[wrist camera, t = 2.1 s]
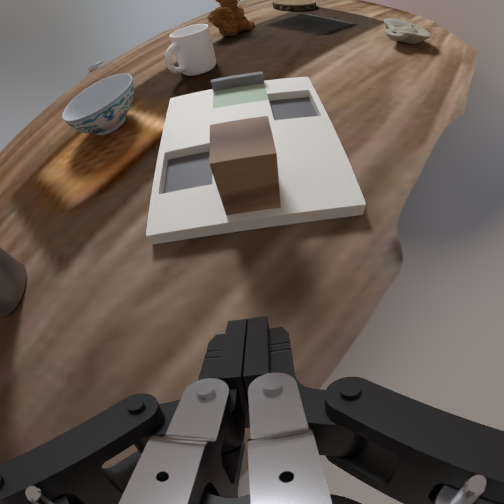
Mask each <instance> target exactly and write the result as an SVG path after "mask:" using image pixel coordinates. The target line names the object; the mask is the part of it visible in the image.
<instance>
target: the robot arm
mask: <svg viewBox="0 0 504 504" xmlns="http://www.w3.org/2000/svg"><path fill="white" fill-rule="evenodd" d="M25 285H26V271H25V268H24V266H23V265H22V264H21V263H19V262H18V261H17V260H16V259H14V258H13V257H12V256H10V255H9V254H8V253H7V252H5V251H4V250H3V249H2V248H0V315H1V316H7V315H9V314H11V313H12V312H13V311H14V310H15V309H16V307H17V306H18V304H19V302H20V300H21V298H22V296H23V293H24V290H25ZM245 428H250V434H251V439H248V462H249V480H250V495H246V496H242V497H238V486H239V480H240V474H241V468H242V463H243V457H244V451H245V441H244V434H245ZM133 444H134V445H135V446H136V448H137V449H138V451H136V452H135V453H133V454H132V455H130V456H129V457H127V458H125V459H124V460H122V461H121V462H119V463H117V464H116V465H114V466H112V467H111V468H107V469H104V468H101V467H102V465H103V464H104V463H105V462H106V461H108V460H109V459H111V458H113V457H114V456H116V455H117V454H119V453H121V452H122V451H124V450H125V449H127V448H129V447H130V446H132V445H133ZM319 455H326V457H327V459H328V460H329V461H330V462H331V463H333V464H335V465H336V466H338V467H339V468H341V469H343V470H344V471H346V472H347V473H349V474H351V475H352V476H354V477H356V478H357V479H359V480H361V481H363V482H365V483H366V484H368V485H370V486H372V487H373V488H375V489H377V490H379V491H380V492H382V493H384V494H386V495H388V496H390V497H392V498H394V499H396V500H397V501H399V502H401V503H404V504H504V431H501V430H498V429H495V428H492V427H488V426H485V425H482V424H479V423H476V422H473V421H470V420H467V419H465V418H462V417H459V416H456V415H453V414H450V413H448V412H445V411H442V410H439V409H437V408H434V407H432V406H429V405H426V404H424V403H421V402H419V401H416V400H414V399H411V398H409V397H406V396H403V395H401V394H399V393H396V392H394V391H392V390H389V389H387V388H384V387H382V386H380V385H377V384H375V383H373V382H370V381H368V380H366V379H363V378H359V377H346V378H341V379H338V380H336V381H334V382H333V383H332V384H330V385H329V386H328V387H327V389H326V390H319V389H312V388H308V387H305V386H303V385H302V384H300V383H299V382H298V381H297V379H296V377H295V372H294V365H293V359H292V352H291V345H290V339H289V333H288V332H287V331H286V330H285V329H284V328H283V327H279V328H271V329H269V324H268V318H267V316H266V317H259V318H251V319H248V320H247V319H243V320H234V321H228V324H227V329H226V333H225V334H219V335H216V336H215V337H214V338H213V339H212V340H211V341H210V342H209V344H208V347H207V352H206V354H205V359H204V361H203V365H202V368H201V372H200V375H199V379H198V381H196V382H194V383H192V384H191V385H189V386H188V387H187V388H186V389H185V391H184V393H183V395H182V398H181V399H180V400H176V401H173V402H168V403H164V404H158V401H157V400H156V398H155V397H153V396H152V395H149V394H135V395H132V396H129V397H127V398H125V399H124V400H122V401H120V402H119V403H117V404H115V405H113V406H112V407H110V408H108V409H107V410H105V411H103V412H101V413H100V414H98V415H96V416H94V417H92V418H91V419H89V420H87V421H85V422H84V423H82V424H80V425H78V426H76V427H74V428H73V429H71V430H69V431H67V432H65V433H63V434H61V435H60V436H58V437H56V438H54V439H52V440H50V441H48V442H46V443H44V444H42V445H40V446H38V447H36V448H34V449H32V450H30V451H28V452H26V453H24V454H22V455H20V456H18V457H16V458H14V459H12V460H10V461H8V462H6V463H4V464H1V465H0V504H361V503H359V502H356V501H354V500H352V499H349V498H345V497H342V496H338V495H331V494H330V493H329V489H328V486H327V482H326V478H325V475H324V471H323V467H322V464H321V460H320V456H319Z"/></svg>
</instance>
